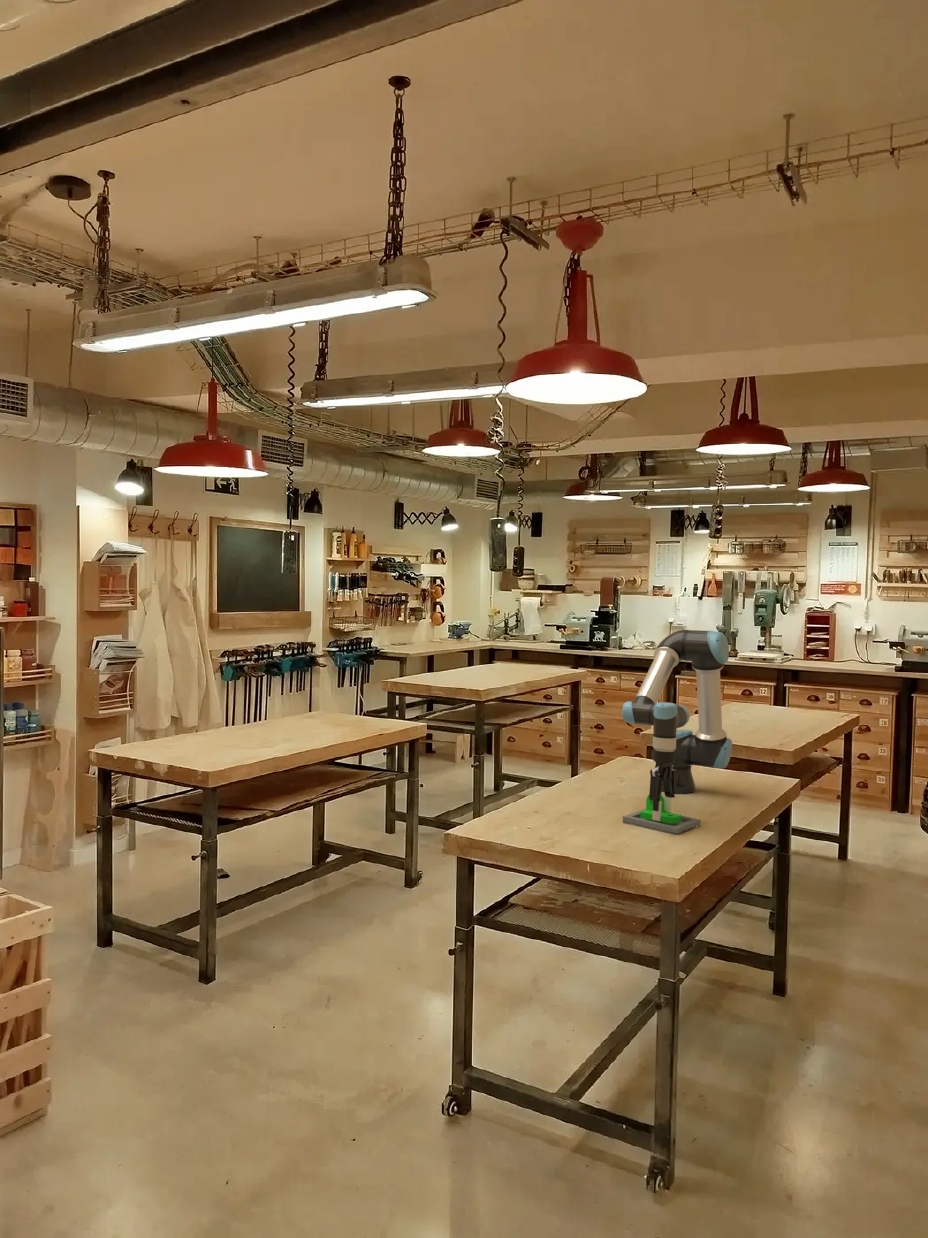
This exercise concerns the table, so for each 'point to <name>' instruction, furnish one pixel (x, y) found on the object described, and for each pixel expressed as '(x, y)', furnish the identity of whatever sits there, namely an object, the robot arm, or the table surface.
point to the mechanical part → (665, 816)
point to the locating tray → (674, 828)
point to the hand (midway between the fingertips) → (661, 818)
